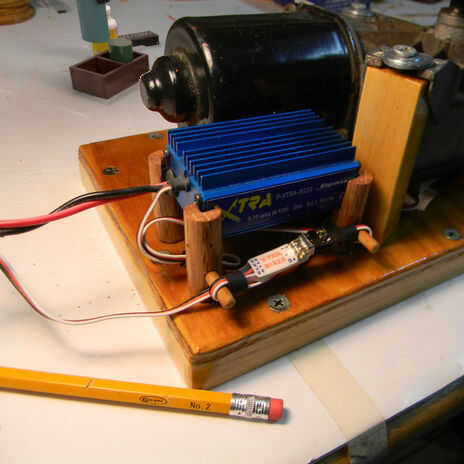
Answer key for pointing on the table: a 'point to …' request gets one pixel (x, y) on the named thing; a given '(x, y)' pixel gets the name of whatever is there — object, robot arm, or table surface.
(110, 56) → the green jar
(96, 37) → the water bottle
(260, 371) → the table surface
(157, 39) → the multiport hub
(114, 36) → the supplement bottle
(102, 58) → the cup holder
